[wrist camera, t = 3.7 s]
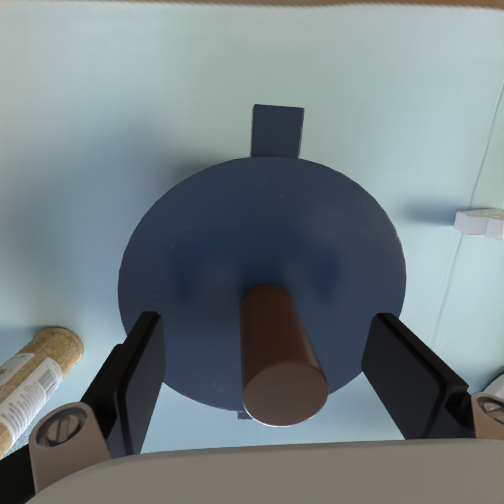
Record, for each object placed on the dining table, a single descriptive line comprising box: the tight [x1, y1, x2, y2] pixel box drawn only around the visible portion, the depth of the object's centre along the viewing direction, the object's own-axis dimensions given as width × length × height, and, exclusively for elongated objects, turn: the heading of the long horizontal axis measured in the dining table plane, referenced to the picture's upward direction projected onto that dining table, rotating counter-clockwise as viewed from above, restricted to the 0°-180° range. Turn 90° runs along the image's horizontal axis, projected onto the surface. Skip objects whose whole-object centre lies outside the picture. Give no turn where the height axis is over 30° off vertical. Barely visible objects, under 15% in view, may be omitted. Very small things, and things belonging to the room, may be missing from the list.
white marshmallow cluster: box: [453, 209, 504, 240], centre depth 20 cm, size 5×1×4 cm, turn 92°
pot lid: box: [118, 156, 406, 427], centre depth 12 cm, size 16×16×7 cm
